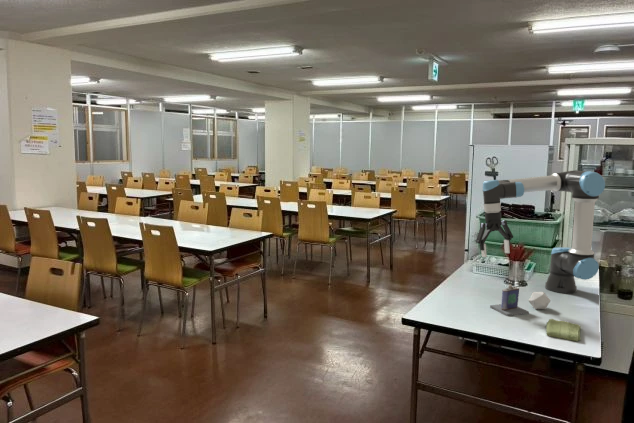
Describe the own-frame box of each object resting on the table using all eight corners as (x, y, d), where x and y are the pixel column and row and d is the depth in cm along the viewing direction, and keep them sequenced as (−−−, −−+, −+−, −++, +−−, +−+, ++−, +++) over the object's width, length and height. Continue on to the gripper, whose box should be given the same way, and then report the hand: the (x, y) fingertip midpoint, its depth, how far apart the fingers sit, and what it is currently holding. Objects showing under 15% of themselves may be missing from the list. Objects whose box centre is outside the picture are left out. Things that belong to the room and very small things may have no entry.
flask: (504, 311, 215) (505, 286, 213) (498, 308, 218) (500, 285, 216) (519, 307, 219) (520, 284, 218) (513, 305, 222) (515, 282, 221)
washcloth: (581, 329, 198) (581, 321, 198) (580, 343, 183) (581, 336, 183) (547, 323, 205) (547, 316, 204) (543, 336, 190) (544, 329, 189)
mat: (511, 305, 226) (511, 303, 226) (528, 313, 215) (528, 311, 215) (490, 307, 223) (490, 305, 223) (506, 316, 211) (507, 314, 211)
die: (547, 314, 216) (556, 296, 218) (530, 304, 217) (539, 286, 219) (538, 314, 224) (547, 297, 226) (522, 304, 225) (531, 287, 227)
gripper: (508, 209, 234) (511, 250, 236) (466, 214, 227) (469, 257, 228) (519, 209, 227) (522, 252, 229) (475, 215, 220) (479, 259, 221)
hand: (495, 255), depth 228 cm, fingers open, 13 cm apart
